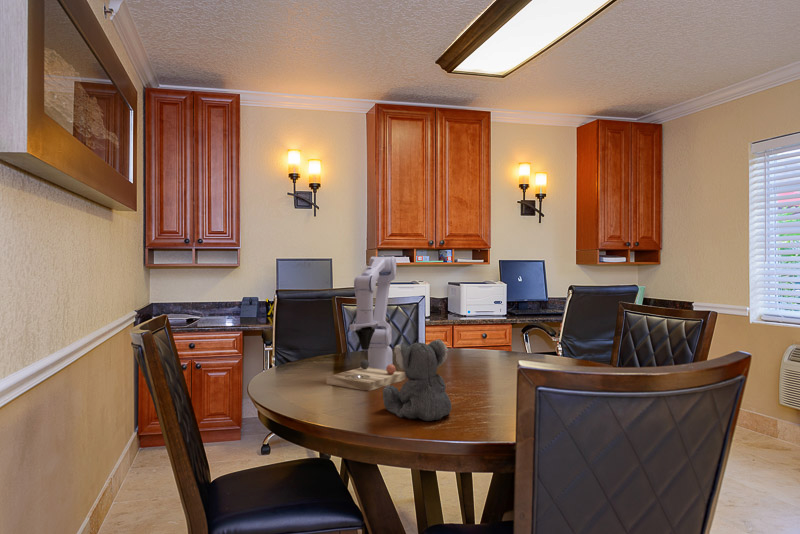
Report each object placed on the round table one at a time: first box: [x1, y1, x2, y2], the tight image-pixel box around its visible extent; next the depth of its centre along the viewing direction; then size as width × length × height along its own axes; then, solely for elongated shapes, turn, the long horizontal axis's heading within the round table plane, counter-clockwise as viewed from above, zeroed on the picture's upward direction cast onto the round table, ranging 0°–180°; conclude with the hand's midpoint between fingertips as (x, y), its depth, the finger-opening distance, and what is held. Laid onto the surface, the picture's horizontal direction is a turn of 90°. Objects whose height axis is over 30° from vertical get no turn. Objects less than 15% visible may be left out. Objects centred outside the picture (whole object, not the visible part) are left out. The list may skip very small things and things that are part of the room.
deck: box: [326, 367, 406, 392], centre depth 176 cm, size 20×18×2 cm
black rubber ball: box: [359, 359, 369, 369], centre depth 185 cm, size 3×3×3 cm
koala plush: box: [382, 338, 452, 422], centre depth 137 cm, size 17×18×20 cm
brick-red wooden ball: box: [386, 363, 397, 374], centre depth 176 cm, size 3×3×3 cm
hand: (365, 349), depth 180 cm, fingers closed
